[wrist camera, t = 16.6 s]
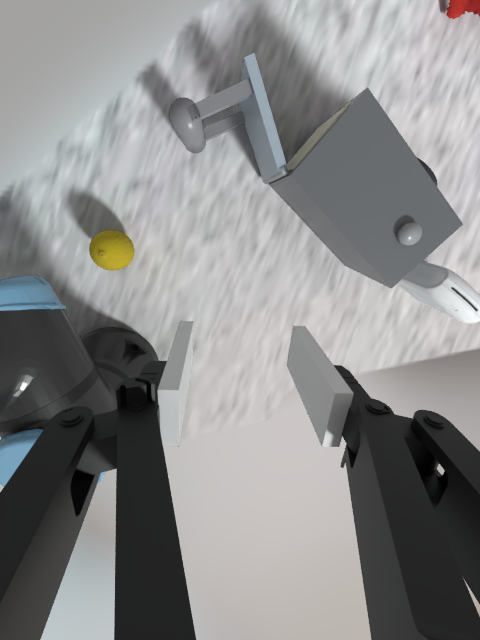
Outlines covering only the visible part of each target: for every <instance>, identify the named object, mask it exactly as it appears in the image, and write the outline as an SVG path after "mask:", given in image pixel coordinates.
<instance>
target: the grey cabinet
mask: <svg viewBox="0 0 480 640" xmlns="http://www.w3.org/2000/svg"><path fill="white" fill-rule="evenodd" d="M287 168H288V172H287V174H286V175H285V176H282V177H280V178H278V179H276V180H274V181H272V182H271V183H270V184H269V185H270V186H271V187H272V188H273V189H274V190H275V191H276V192H277V193H278V195H279V196H280V197H281V198H282V199H283V200H284V201H285V202H286V203H287V204H288V205H289V206H290V207H291V208H292V210H293V211H294V212H295V213H296V214H297V215H298V216H299V217H300V218H301V219H302V220H303V221H304V222H305V223H306V225H307V226H308V227H309V228H310V229H311V230H312V231H313V232H314V233H315V234H316V235H317V236H318V237H319V238H320V240H321V241H322V242H323V243H324V244H325V245H326V246H327V247H328V248H329V249H330V250H331V251H332V252H333V254H334V255H335V256H336V257H337V258H338V259H339V260H340V261H341V262H342V263H343V264H344V265H345V266H347V267H349V268H351V269H353V270H355V271H357V272H359V273H361V274H363V275H365V276H367V277H369V278H371V279H373V280H375V281H377V282H379V283H381V284H383V285H385V286H388V287H390V288H392V287H394V286H395V285H396V284H397V283H398V282H399V281H400V280H401V279H403V278H404V277H405V276H406V275H407V274H408V273H409V272H410V271H411V270H413V269H414V268H415V267H416V266H417V265H418V264H419V263H420V262H421V261H423V260H424V259H425V258H426V257H427V256H428V255H429V254H430V253H432V252H433V251H434V250H435V249H436V248H437V247H438V246H439V245H440V244H442V243H443V242H444V241H445V240H446V239H447V238H448V237H449V236H450V235H452V234H453V233H454V232H455V231H456V230H457V229H458V228H459V227H461V226H462V225H463V224H462V222H461V221H460V219H459V218H458V216H457V215H456V214H455V212H454V211H453V209H452V208H451V206H450V205H449V203H448V202H447V201H446V199H445V198H444V196H443V195H442V193H441V192H440V191H439V189H438V188H437V179H436V177H435V175H434V173H433V172H432V170H431V169H430V168H429V167H428V166H427V165H426V164H425V163H424V162H423V161H422V160H420V159H418V158H417V157H416V156H415V155H414V153H413V152H412V150H411V149H410V148H409V146H408V145H407V143H406V142H405V140H404V139H403V137H402V136H401V135H400V133H399V132H398V130H397V129H396V127H395V126H394V125H393V123H392V122H391V120H390V119H389V117H388V116H387V114H386V113H385V112H384V110H383V109H382V107H381V106H380V104H379V103H378V102H377V100H376V99H375V97H374V96H373V94H372V93H371V92H370V90H369V89H368V87H367V88H366V89H365V90H364V91H362V92H361V93H360V94H359V95H358V96H356V97H355V98H354V99H353V100H351V101H350V102H349V103H348V104H346V105H345V106H344V107H343V108H341V109H340V110H339V111H338V112H336V113H335V114H334V115H333V116H331V117H330V118H329V119H328V120H327V121H325V122H324V123H323V124H322V125H320V126H319V127H318V128H317V130H316V131H315V132H314V133H313V134H312V135H311V136H310V138H309V139H308V140H307V141H306V142H305V143H304V145H303V146H302V147H301V148H300V149H299V150H298V152H297V153H296V154H295V155H294V156H293V157H292V159H291V160H290V161H289V162H288V163H287Z"/></svg>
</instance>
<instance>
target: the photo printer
mask: <svg viewBox="0 0 480 640" xmlns="http://www.w3.org/2000/svg"><path fill="white" fill-rule="evenodd" d="M398 284H399V285H400V286H401V287H402V288H403V289H405V290H406V291H407V292H408V293H409V294H410V295H412V296H413V297H414V298H415V299H417V300H418V301H420V302H421V303H423V304H426V305H428V306H430V307H432V308H434V309H436V310H438V311H440V312H442V313H444V314H446V315H448V316H450V317H452V318H454V319H456V320H458V321H461V322H463V323H476V322H479V321H480V295H479V294H478V293H477V292H476V291H475V289H473V288H472V287H471V286H470V285H469V284H468V283H467V282H466V281H465V280H464V279H462V278H461V277H460V276H459V275H457V274H456V273H454V272H453V271H451V270H449V269H447V268H444V267H441V266H438V265H434V264H431V263H427V262H424V261H421V262H420V263H419V264H418V265H417V266H416V267H415V268H414V269H413V270H411V271H410V272H409V273H408V274H407V275H406V276H405V277H404V278H403V279H401V280H400V281H399V282H398Z"/></svg>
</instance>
